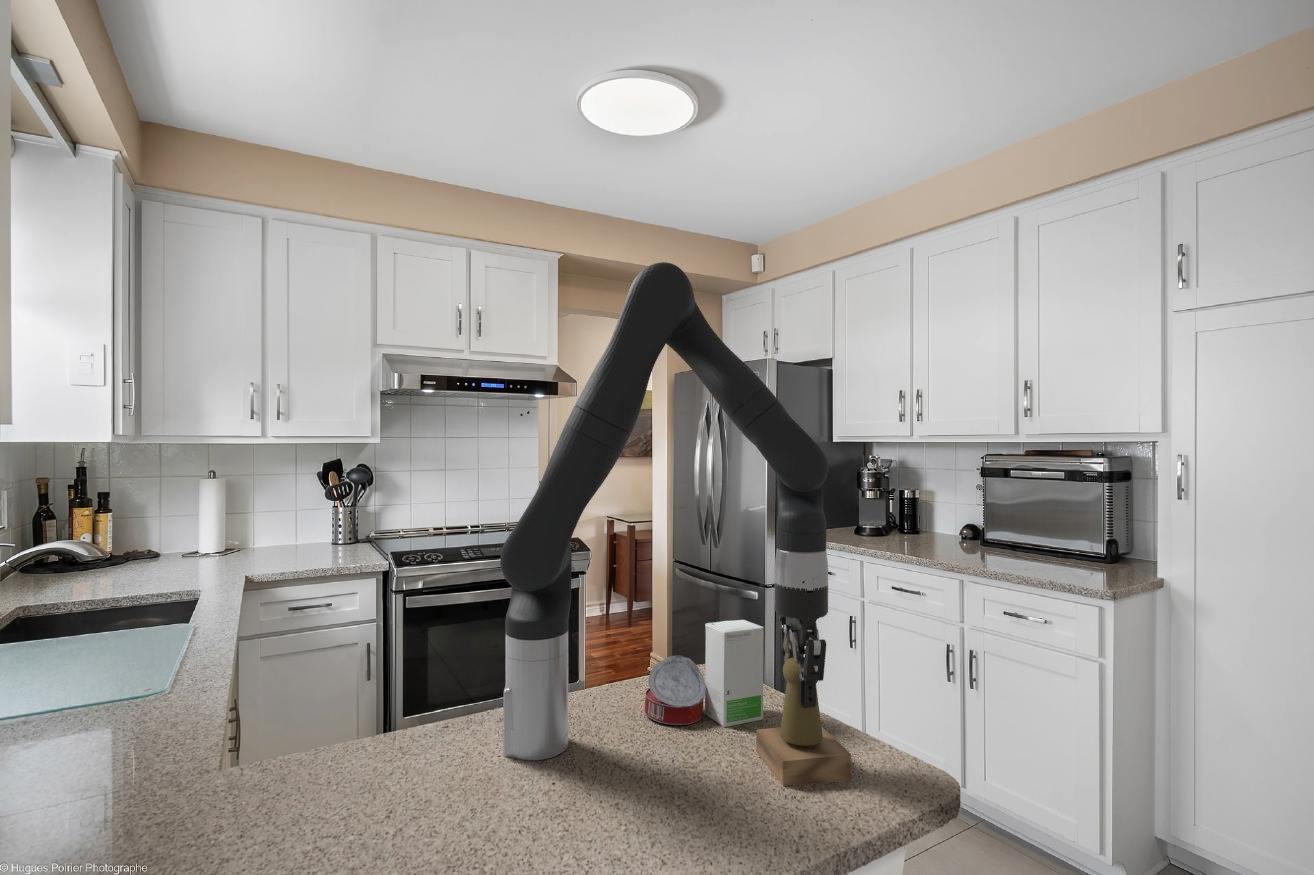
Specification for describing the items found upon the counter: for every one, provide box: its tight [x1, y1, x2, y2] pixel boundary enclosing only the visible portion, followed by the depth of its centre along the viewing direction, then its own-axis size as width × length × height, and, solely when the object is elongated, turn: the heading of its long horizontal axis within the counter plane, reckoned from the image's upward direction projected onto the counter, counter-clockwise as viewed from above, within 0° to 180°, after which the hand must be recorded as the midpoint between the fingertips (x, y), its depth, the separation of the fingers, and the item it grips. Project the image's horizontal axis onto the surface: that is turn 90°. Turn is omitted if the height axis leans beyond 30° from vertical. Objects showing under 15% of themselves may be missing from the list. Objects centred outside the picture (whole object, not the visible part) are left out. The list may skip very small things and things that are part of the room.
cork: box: [780, 657, 823, 746], centre depth 96 cm, size 6×6×11 cm
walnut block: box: [755, 725, 852, 787], centre depth 96 cm, size 10×10×4 cm
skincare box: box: [704, 619, 765, 728], centre depth 113 cm, size 8×7×16 cm
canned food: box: [644, 654, 706, 726], centre depth 113 cm, size 11×10×10 cm
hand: (800, 698), depth 96 cm, fingers closed on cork, 5 cm apart
